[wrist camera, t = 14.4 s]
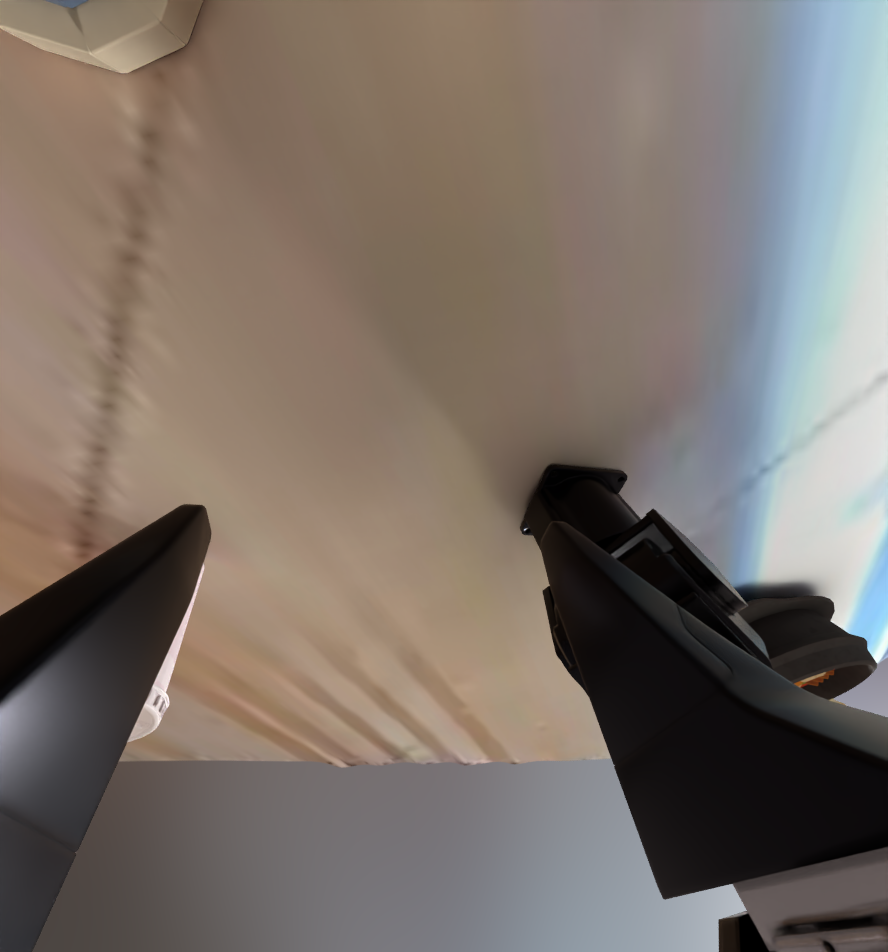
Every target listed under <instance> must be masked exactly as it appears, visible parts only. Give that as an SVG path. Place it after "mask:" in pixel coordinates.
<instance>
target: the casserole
mask: <svg viewBox="0 0 888 952" xmlns="http://www.w3.org/2000/svg"><path fill="white" fill-rule="evenodd" d="M746 603H747V604H748V607H746V608H744V609H743V610H741V611H739V612H737V613H738V614H739V615H740V616H741V617H742V618H743V619H744V620H745V621H746V622H747V624H748V625H749V626H750V627H751V628H752V629H753V630H754V631H755V632H756V633H757V634H758V635H759V636H760V637H761V639H762V640H763V642H764V644H765V646H766V649H767V652H768V656H769V659H770V662H771V665H772V668H773V671H775V672H776V673H778V674H780V675H781V676H783V677H784V678H786V679H787V680H789V681H790V682H792V683H793V684H795V685H797V686H798V687H800V688H802V689H804V690H806V691H808V692H810V693H812V694H814V695H816V696H819V697H821V698H824V699H827V700H830V699H833V698H835V697H837V696H839V695H841V694H843V693H844V692H847V691H849V690H850V689H852V688H854V687H855V686H857V685H858V684H860V683H861V682H863V681H864V680H865V679H866V678H868V677H869V676H870V675H871V674H872V673H873V672H874V671H875V669H876V668H877V663H876V662H875V660H874V659H873V657H872V656H871V654H870V653H869V651H868V650H867V641H866V640H865V639H864V638H862V637H859V636H855V635H851V634H849V633H847V632H846V631H844V630H843V629H841V628H840V627H838V626H837V625H835V624H834V623H832V622H831V621H830V620H831V618H832V616H833V614H834V611H835V610H834V603H833V602H832V601H831V600H830V599H829V598H826V597H823V596H802V597H793V598H785V599H778V598H759V599H754V600H750V601H748V602H746Z"/></svg>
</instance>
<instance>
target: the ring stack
mask: <svg viewBox="0 0 888 952" xmlns="http://www.w3.org/2000/svg"><path fill="white" fill-rule="evenodd" d="M202 2H203V0H0V29H2V30H4V31H6V32H8V33H10V34H12V35H14V36H16V37H18V38H20V39H22V40H24V41H26V42H28V43H30V44H32V45H34V46H36V47H38V48H40V49H42V50H45V51H48V52H52V53H55V54H58V55H62V56H65V57H68V58H72V59H75V60H78V61H82V62H85V63H88V64H92V65H95V66H98V67H101V68H105V69H108V70H111V71H115V72H118V73H121V74H123V73H129V72H131V71H133V70H135V69H137V68H140V67H142V66H144V65H146V64H148V63H150V62H153V61H155V60H157V59H159V58H161V57H163V56H165V55H168V54H170V53H172V52H174V51H176V50H178V49H180V48H183V47H184V46H185V45H187V44H188V41H189V38H190V36H191V33H192V30H193V27H194V24H195V22H196V19H197V16H198V13H199V11H200V8H201V5H202Z"/></svg>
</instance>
